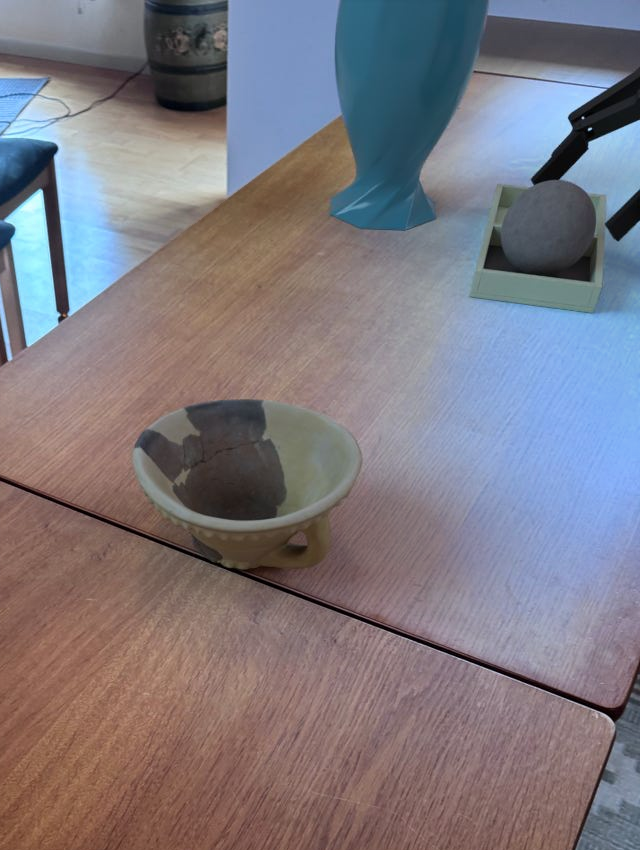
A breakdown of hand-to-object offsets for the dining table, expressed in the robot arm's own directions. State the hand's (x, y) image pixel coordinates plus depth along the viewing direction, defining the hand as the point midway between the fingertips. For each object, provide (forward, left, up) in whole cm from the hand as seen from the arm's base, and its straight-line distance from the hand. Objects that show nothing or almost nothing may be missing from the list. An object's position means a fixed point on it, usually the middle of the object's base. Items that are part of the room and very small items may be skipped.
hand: (572, 209), depth 102 cm
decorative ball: (+2, 0, -7) cm, 7 cm away
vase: (+17, -21, -8) cm, 28 cm away
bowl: (+38, +48, -8) cm, 62 cm away
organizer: (0, -6, -8) cm, 10 cm away
